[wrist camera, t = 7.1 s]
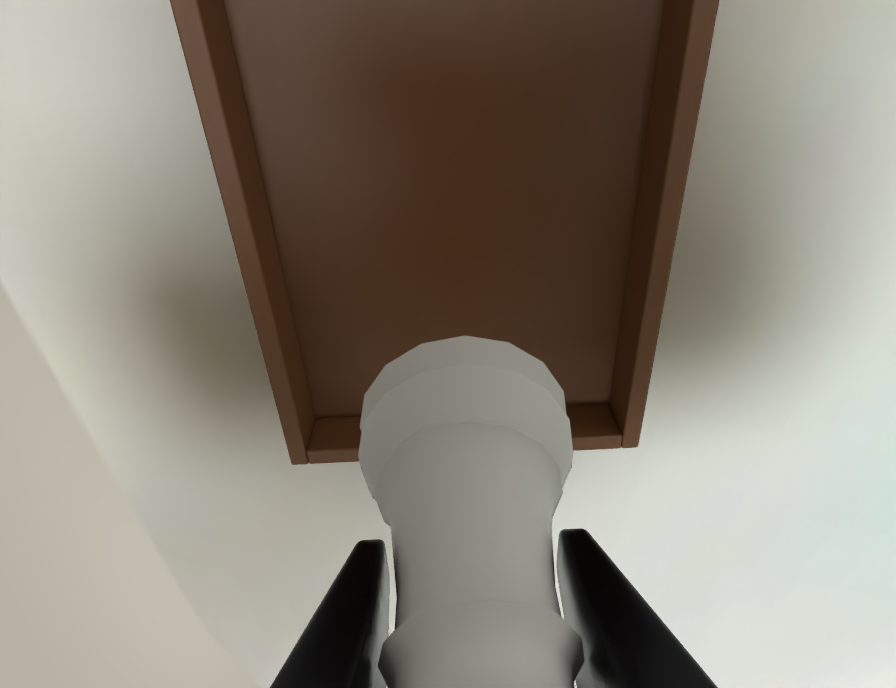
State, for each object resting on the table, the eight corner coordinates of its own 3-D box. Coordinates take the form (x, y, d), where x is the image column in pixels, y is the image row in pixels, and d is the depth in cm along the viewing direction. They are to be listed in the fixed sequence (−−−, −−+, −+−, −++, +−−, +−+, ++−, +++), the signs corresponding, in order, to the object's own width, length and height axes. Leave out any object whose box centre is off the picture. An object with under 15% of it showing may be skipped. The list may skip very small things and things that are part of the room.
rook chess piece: (586, 449, 13) (760, 946, 6) (413, 504, 14) (392, 996, 7) (526, 291, 11) (689, 788, 4) (324, 367, 12) (165, 888, 5)
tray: (305, 420, 17) (291, 465, 16) (131, -328, 9) (61, -406, 7) (618, 405, 17) (638, 448, 16) (732, -361, 9) (802, -445, 7)
